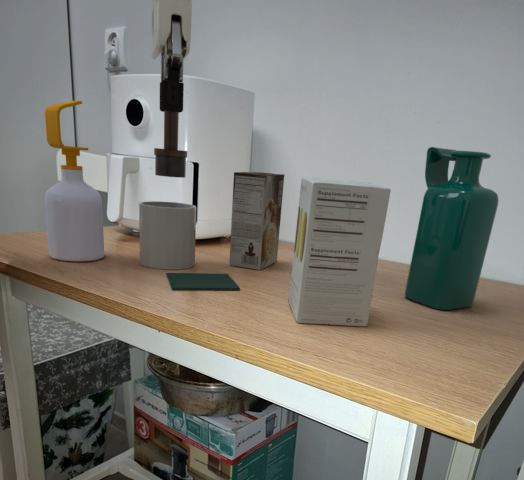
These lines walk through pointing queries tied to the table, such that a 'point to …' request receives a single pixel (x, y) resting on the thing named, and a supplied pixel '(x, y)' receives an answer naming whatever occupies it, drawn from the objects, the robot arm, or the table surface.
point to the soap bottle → (71, 202)
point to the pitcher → (451, 231)
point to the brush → (170, 150)
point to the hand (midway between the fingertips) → (171, 110)
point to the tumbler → (167, 234)
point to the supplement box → (336, 250)
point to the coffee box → (255, 219)
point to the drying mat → (201, 281)
